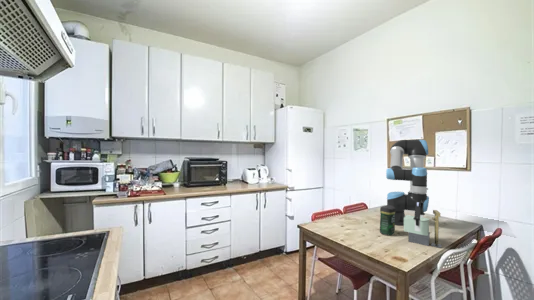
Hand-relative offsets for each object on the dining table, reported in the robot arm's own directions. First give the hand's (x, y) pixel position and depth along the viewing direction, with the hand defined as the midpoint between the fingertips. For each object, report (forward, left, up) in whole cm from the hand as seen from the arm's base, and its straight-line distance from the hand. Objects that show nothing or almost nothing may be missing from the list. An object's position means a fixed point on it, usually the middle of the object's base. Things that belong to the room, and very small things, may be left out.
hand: (419, 228), depth 138 cm
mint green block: (-2, 0, -3) cm, 3 cm away
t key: (+8, +1, -7) cm, 11 cm away
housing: (+3, 0, -9) cm, 9 cm away
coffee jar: (-18, +3, -9) cm, 20 cm away
